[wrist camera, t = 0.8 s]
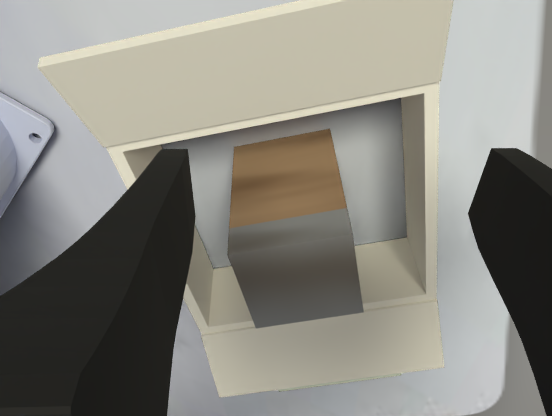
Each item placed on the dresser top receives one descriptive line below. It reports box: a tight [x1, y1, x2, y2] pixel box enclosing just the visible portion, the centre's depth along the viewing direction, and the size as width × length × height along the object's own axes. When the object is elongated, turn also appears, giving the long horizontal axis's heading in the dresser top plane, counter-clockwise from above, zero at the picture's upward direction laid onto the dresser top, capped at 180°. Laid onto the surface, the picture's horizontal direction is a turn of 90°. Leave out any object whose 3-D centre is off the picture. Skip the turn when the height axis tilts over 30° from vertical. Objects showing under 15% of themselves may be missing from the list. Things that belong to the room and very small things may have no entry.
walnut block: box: [228, 129, 364, 328], centre depth 22 cm, size 4×4×7 cm
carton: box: [38, 0, 454, 398], centre depth 22 cm, size 20×12×6 cm, turn 11°
